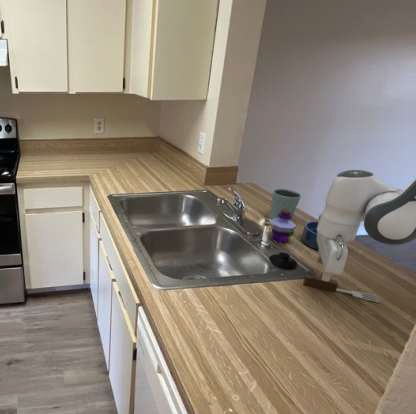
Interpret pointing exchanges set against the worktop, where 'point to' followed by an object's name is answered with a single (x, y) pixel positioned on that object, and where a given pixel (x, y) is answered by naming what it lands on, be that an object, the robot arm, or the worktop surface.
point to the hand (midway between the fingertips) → (322, 270)
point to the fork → (332, 286)
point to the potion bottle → (282, 226)
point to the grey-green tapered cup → (283, 202)
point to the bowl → (310, 234)
